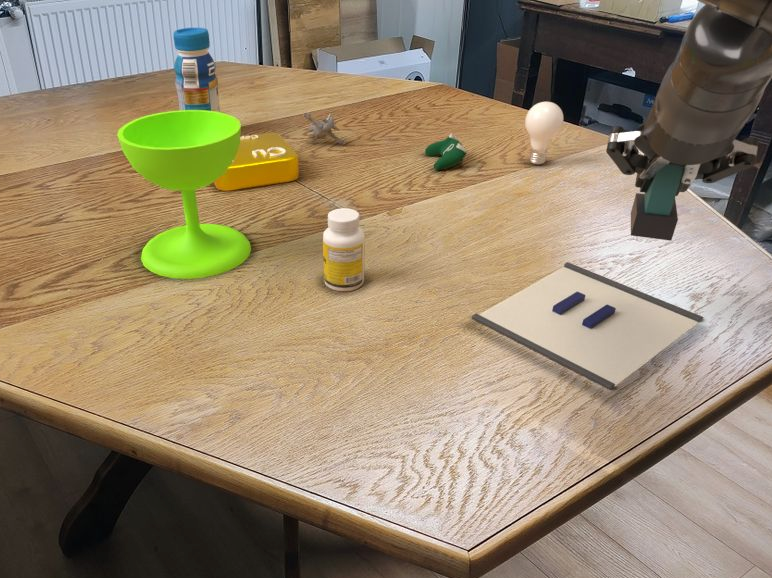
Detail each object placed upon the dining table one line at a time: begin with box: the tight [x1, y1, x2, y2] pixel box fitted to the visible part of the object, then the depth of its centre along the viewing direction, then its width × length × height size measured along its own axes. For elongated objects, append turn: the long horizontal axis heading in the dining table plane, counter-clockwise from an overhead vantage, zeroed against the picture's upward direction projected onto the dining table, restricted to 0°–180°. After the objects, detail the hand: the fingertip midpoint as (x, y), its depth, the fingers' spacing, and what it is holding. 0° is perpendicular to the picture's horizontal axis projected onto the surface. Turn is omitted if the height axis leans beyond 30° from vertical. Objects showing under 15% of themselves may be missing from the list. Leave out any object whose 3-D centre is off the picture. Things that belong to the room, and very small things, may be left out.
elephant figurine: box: [303, 111, 346, 146], centre depth 135 cm, size 10×6×9 cm
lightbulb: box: [524, 101, 565, 166], centre depth 120 cm, size 6×6×11 cm
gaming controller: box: [424, 132, 468, 172], centre depth 125 cm, size 9×4×6 cm
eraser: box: [630, 164, 684, 241], centre depth 73 cm, size 6×4×8 cm, turn 159°
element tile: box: [212, 132, 300, 192], centre depth 123 cm, size 15×15×5 cm
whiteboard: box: [471, 261, 704, 391], centre depth 81 cm, size 20×18×2 cm
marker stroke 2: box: [582, 305, 616, 329], centre depth 80 cm, size 5×1×1 cm, turn 129°
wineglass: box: [117, 109, 252, 280], centre depth 94 cm, size 16×16×18 cm
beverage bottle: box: [172, 27, 221, 112], centre depth 136 cm, size 8×8×20 cm
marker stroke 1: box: [552, 292, 586, 315], centre depth 83 cm, size 5×1×1 cm, turn 129°
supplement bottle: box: [322, 207, 366, 292], centre depth 88 cm, size 5×5×10 cm
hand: (659, 185), depth 74 cm, fingers closed on eraser, 2 cm apart
